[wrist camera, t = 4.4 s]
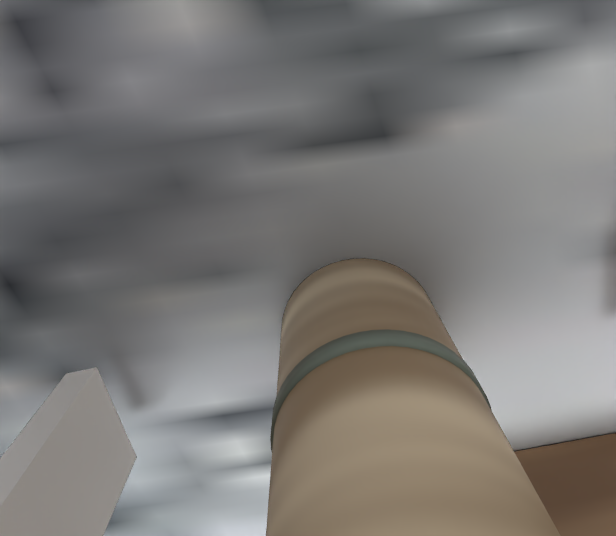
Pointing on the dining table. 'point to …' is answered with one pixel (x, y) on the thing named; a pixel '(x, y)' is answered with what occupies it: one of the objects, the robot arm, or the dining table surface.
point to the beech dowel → (386, 420)
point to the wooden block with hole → (576, 484)
